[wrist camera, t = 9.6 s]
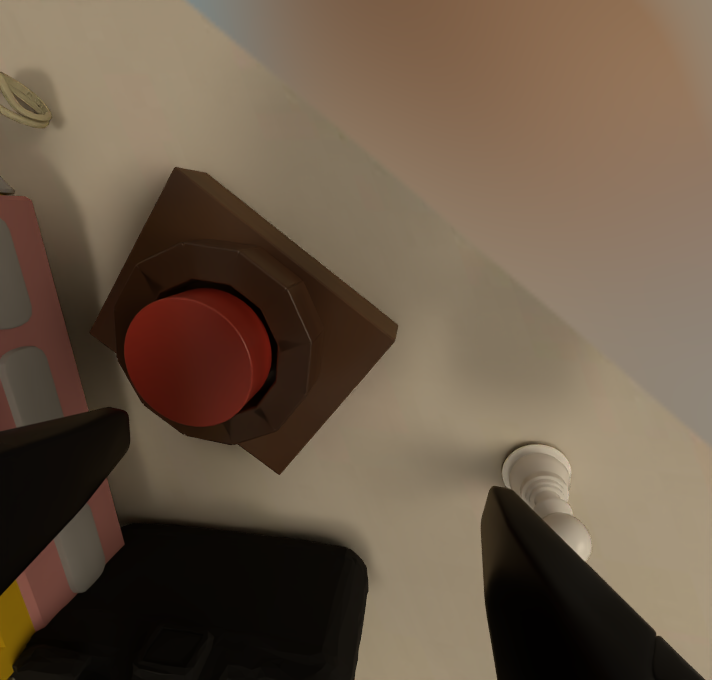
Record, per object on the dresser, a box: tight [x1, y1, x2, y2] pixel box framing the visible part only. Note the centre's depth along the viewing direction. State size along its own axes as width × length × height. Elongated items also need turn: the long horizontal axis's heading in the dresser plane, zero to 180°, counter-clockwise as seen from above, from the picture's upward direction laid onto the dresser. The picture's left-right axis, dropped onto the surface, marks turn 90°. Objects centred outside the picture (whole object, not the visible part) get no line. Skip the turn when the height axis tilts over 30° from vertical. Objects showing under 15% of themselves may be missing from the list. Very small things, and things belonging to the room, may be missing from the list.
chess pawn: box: [502, 444, 592, 562], centre depth 15 cm, size 3×3×5 cm
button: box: [124, 288, 272, 427], centre depth 14 cm, size 4×4×2 cm
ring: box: [0, 72, 52, 128], centre depth 15 cm, size 3×2×3 cm
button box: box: [90, 167, 398, 475], centre depth 16 cm, size 10×8×4 cm
